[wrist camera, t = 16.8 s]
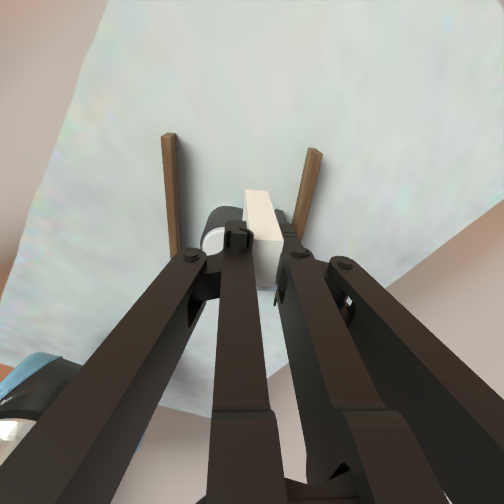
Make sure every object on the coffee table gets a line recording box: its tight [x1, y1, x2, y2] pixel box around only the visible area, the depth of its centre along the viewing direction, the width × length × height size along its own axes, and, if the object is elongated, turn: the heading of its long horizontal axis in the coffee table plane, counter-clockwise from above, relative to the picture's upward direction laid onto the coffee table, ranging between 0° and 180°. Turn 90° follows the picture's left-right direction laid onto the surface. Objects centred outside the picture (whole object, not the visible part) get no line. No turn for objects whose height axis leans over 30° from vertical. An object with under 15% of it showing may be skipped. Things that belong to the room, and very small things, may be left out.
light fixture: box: [200, 206, 286, 289], centre depth 43 cm, size 11×13×11 cm
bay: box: [161, 133, 323, 291], centre depth 44 cm, size 23×26×5 cm
